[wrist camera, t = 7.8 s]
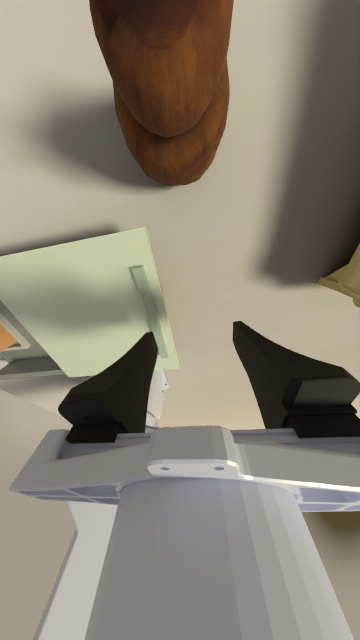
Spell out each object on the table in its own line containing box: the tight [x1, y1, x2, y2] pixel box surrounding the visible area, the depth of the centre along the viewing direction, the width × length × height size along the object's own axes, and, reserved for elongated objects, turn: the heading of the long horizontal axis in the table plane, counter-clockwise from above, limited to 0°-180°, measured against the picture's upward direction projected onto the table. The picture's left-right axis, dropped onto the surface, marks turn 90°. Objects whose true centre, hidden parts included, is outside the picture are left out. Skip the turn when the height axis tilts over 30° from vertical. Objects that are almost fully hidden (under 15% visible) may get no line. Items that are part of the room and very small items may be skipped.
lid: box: [0, 227, 179, 377], centre depth 18 cm, size 18×18×1 cm
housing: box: [0, 300, 65, 380], centre depth 22 cm, size 18×21×5 cm
